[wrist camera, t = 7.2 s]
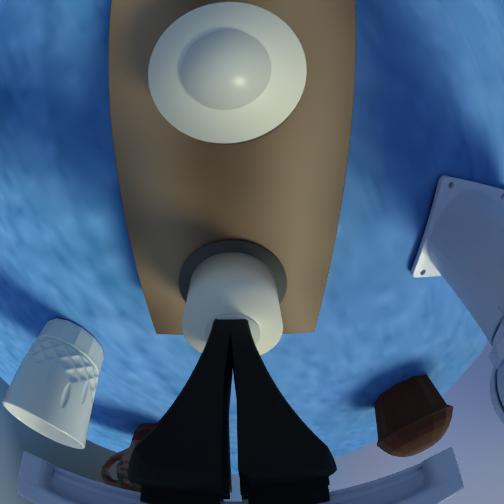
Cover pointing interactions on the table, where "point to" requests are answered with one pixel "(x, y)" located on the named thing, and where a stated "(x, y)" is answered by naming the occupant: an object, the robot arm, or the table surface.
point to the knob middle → (227, 72)
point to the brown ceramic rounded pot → (125, 462)
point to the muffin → (411, 417)
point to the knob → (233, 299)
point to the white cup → (57, 383)
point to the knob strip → (234, 165)
